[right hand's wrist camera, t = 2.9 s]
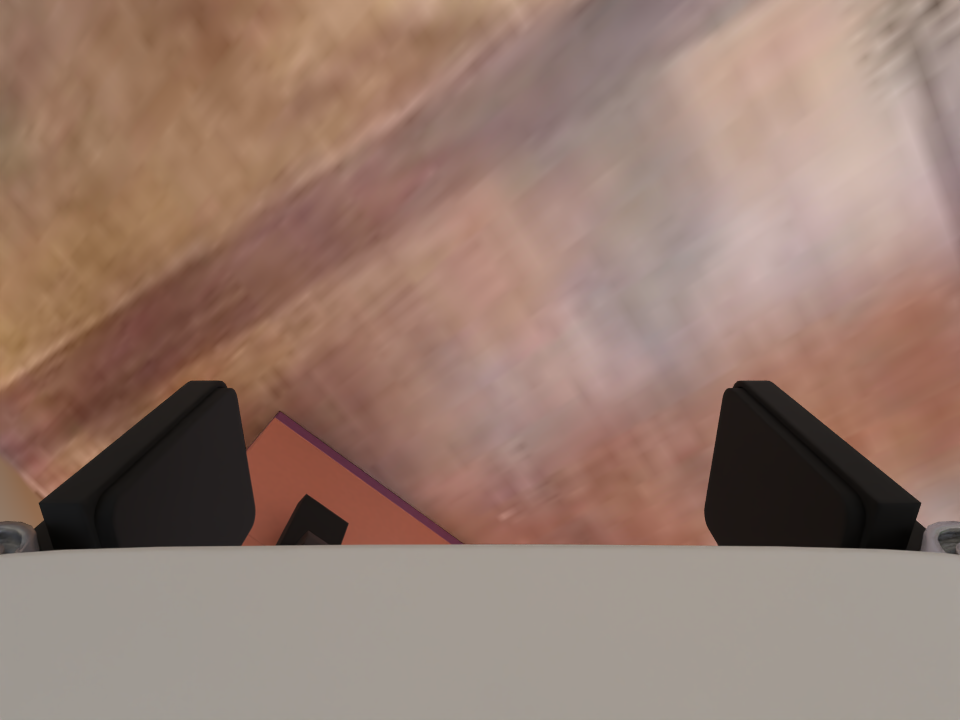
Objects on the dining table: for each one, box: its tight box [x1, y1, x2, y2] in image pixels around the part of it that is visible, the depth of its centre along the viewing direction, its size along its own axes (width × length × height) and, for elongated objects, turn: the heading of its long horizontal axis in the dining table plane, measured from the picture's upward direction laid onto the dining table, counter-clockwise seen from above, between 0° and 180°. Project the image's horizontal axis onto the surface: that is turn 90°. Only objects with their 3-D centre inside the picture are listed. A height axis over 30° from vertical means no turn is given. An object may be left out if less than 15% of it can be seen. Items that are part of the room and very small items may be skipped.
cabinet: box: [242, 411, 463, 546], centre depth 34 cm, size 19×10×11 cm, turn 48°
